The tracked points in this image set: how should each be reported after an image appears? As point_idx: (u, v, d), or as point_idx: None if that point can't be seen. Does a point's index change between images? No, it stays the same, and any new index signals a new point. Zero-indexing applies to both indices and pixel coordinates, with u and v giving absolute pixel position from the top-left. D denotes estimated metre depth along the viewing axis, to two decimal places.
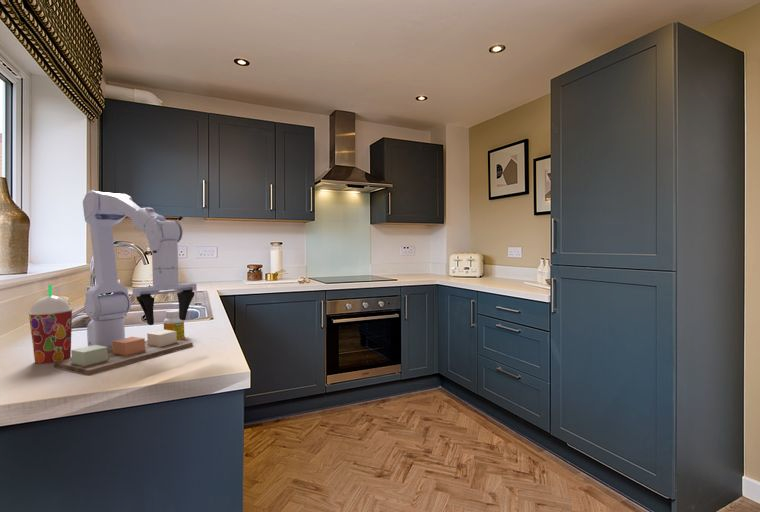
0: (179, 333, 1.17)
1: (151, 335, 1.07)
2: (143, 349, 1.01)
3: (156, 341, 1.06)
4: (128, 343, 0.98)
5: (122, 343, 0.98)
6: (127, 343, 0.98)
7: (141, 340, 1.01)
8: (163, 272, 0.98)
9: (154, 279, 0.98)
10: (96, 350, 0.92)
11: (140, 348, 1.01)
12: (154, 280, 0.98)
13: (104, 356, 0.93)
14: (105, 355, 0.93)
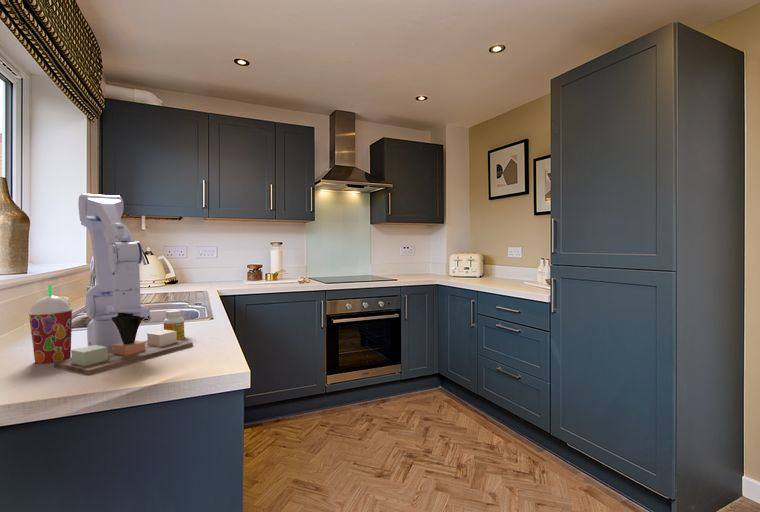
0: (179, 333, 1.17)
1: (151, 335, 1.07)
2: None
3: (156, 341, 1.06)
4: (128, 347, 0.98)
5: (122, 347, 0.98)
6: (127, 347, 0.98)
7: (141, 344, 1.01)
8: (113, 293, 0.99)
9: None
10: (96, 350, 0.92)
11: (140, 351, 1.01)
12: None
13: (104, 356, 0.93)
14: (105, 355, 0.93)
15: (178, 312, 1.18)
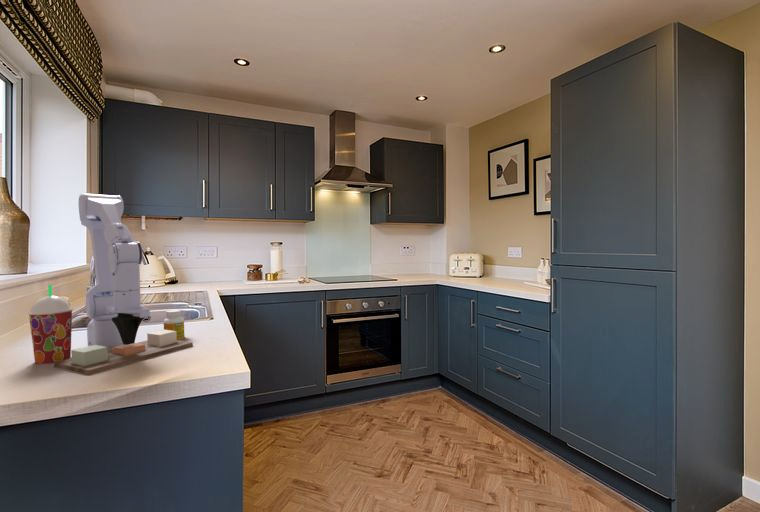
0: (179, 333, 1.17)
1: (151, 335, 1.07)
2: None
3: (156, 341, 1.06)
4: (128, 349, 0.98)
5: (122, 349, 0.98)
6: (127, 349, 0.98)
7: (141, 346, 1.01)
8: (113, 294, 0.99)
9: None
10: (96, 350, 0.92)
11: None
12: None
13: (104, 356, 0.93)
14: (105, 355, 0.93)
15: (178, 312, 1.18)
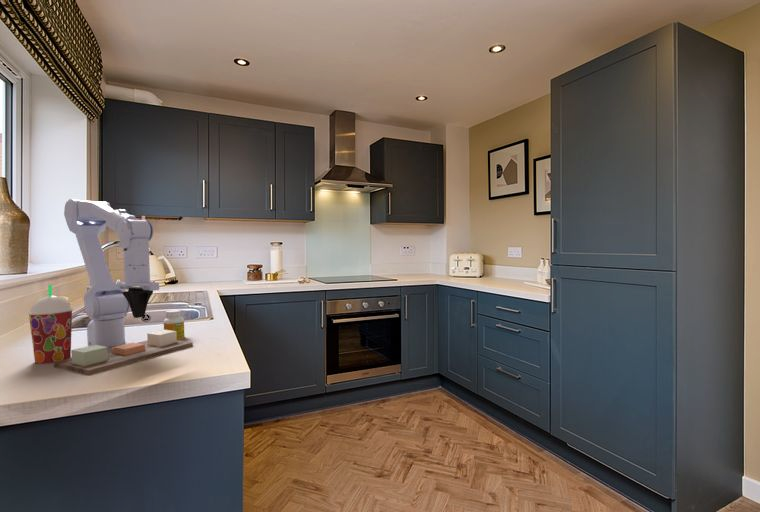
0: (179, 333, 1.17)
1: (151, 335, 1.07)
2: None
3: (156, 341, 1.06)
4: (128, 349, 0.98)
5: (122, 349, 0.98)
6: (127, 349, 0.98)
7: (141, 346, 1.01)
8: (124, 268, 1.03)
9: None
10: (96, 350, 0.92)
11: None
12: None
13: (104, 356, 0.93)
14: (105, 355, 0.93)
15: (178, 312, 1.18)
